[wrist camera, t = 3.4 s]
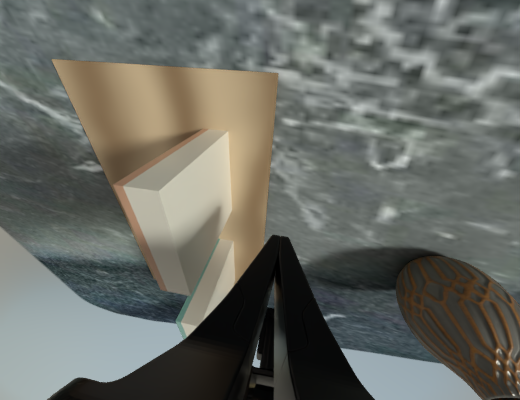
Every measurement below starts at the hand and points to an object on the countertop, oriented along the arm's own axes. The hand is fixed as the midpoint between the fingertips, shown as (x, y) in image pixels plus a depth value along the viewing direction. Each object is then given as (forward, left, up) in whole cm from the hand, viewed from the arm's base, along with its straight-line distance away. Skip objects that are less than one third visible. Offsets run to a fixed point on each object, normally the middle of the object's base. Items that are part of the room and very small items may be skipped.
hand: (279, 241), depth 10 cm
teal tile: (+5, +11, -6) cm, 14 cm away
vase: (-14, +7, -7) cm, 17 cm away
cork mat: (+9, +5, -6) cm, 12 cm away
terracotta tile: (+5, 0, -6) cm, 8 cm away
